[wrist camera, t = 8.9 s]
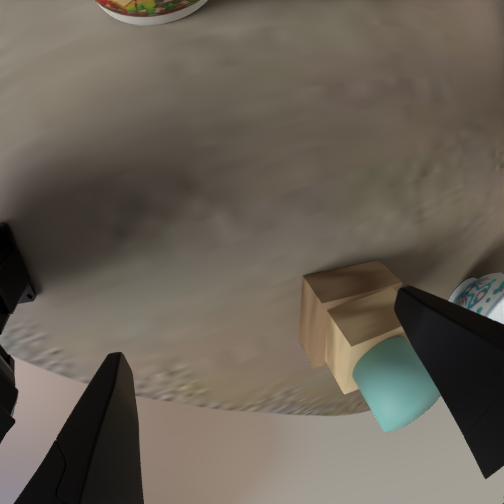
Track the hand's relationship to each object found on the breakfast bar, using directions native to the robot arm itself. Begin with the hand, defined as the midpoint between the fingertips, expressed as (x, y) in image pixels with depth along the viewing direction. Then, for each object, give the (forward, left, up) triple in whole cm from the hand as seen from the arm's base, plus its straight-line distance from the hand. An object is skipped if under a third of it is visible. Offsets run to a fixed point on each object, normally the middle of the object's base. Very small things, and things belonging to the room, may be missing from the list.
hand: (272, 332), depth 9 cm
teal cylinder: (+10, -12, -5) cm, 16 cm away
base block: (+10, -12, -13) cm, 20 cm away
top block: (+10, -12, -9) cm, 18 cm away
